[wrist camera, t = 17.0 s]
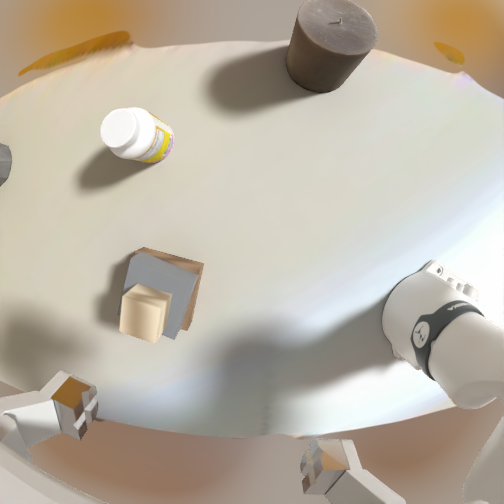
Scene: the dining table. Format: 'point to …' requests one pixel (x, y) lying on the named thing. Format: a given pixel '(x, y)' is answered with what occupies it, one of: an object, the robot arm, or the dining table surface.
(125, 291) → the tower top
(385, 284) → the dining table surface
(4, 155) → the coffeepot
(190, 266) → the tower base
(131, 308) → the birch block
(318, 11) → the pillar candle
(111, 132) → the supplement bottle
